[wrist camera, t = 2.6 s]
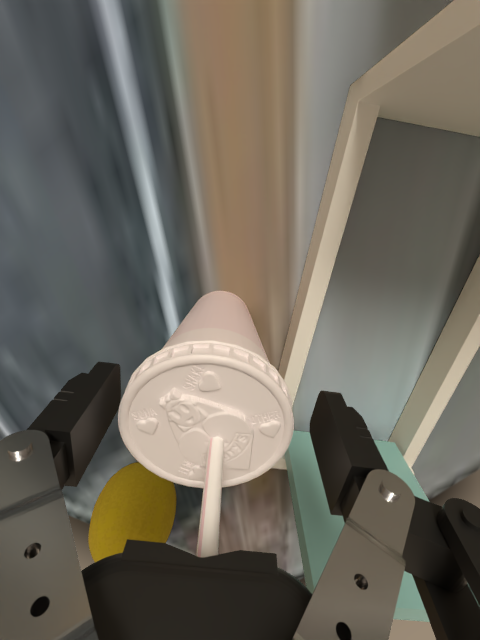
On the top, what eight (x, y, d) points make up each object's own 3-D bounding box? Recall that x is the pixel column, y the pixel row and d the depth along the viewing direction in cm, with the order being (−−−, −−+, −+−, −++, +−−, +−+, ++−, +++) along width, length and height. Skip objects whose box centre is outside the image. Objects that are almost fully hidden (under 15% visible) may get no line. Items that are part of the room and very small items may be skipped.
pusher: (282, 439, 23) (310, 612, 14) (285, 429, 22) (316, 601, 13) (389, 451, 23) (485, 626, 14) (394, 442, 23) (496, 615, 14)
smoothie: (216, 376, 22) (185, 660, 9) (149, 312, 20) (-17, 563, 7) (290, 323, 20) (381, 581, 7) (225, 247, 18) (193, 421, 5)
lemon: (174, 492, 27) (150, 609, 20) (111, 477, 26) (61, 594, 19) (192, 448, 25) (172, 562, 17) (123, 431, 24) (72, 543, 16)
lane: (260, 442, 24) (275, 627, 14) (350, 85, 15) (591, -114, 5) (392, 457, 25) (494, 643, 15) (562, 127, 15) (1162, 37, 5)
